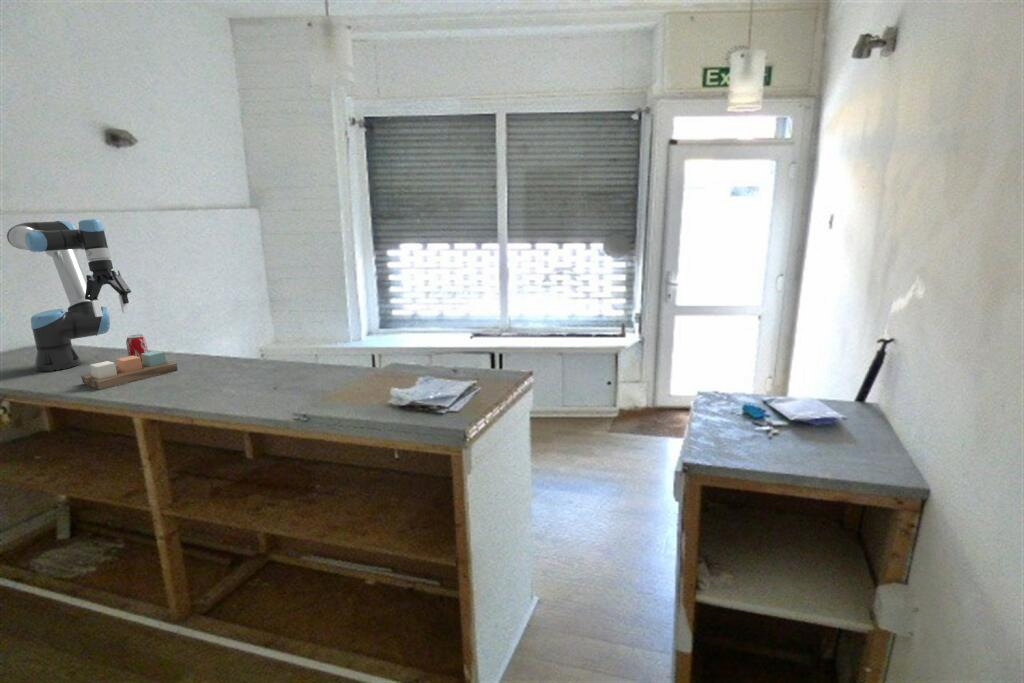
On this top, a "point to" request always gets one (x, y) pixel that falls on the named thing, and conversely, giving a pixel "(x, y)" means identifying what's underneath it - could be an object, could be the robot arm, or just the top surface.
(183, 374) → the top surface
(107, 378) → the board
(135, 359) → the orange cube
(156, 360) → the teal cube
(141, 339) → the soda can
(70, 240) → the robot arm
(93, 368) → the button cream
